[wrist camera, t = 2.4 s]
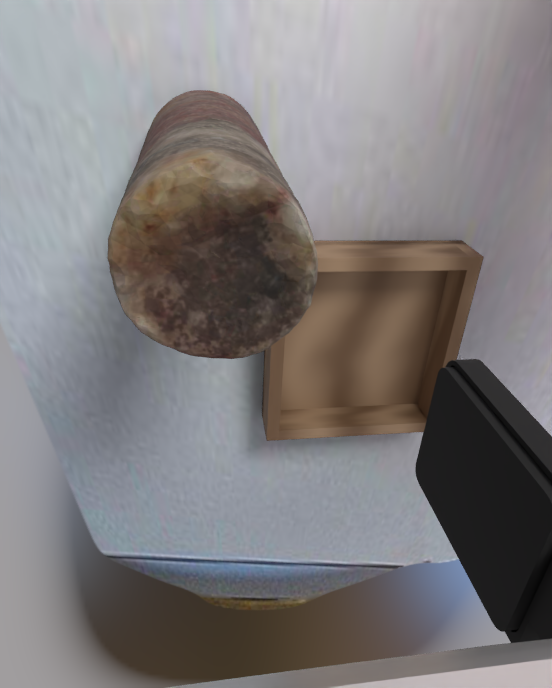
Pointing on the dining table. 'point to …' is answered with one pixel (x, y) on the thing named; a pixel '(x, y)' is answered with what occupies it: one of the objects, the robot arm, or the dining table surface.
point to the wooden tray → (370, 339)
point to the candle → (211, 235)
